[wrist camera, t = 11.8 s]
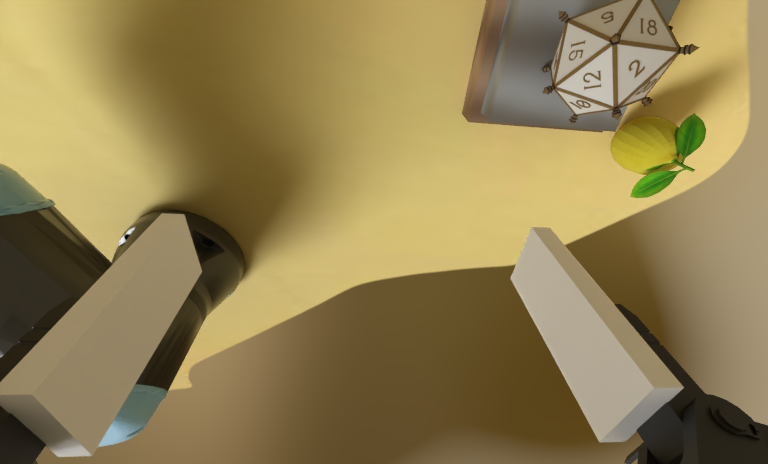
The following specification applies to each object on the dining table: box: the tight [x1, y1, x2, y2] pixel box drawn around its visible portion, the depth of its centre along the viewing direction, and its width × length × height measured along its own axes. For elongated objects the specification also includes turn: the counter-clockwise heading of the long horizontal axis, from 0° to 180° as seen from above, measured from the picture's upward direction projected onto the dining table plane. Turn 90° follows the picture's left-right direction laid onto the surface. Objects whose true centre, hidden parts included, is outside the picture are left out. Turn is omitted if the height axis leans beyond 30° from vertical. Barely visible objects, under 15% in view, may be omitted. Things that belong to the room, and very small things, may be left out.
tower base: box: [462, 0, 680, 132], centre depth 29 cm, size 14×14×6 cm
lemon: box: [611, 114, 706, 198], centre depth 33 cm, size 7×6×10 cm
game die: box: [541, 0, 699, 125], centre depth 23 cm, size 9×8×10 cm
